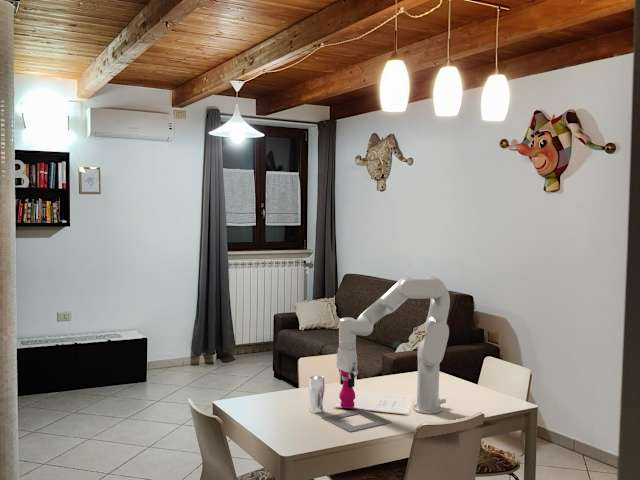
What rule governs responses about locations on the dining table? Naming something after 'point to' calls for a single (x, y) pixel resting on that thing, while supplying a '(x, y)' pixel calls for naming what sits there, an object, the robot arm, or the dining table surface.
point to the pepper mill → (346, 392)
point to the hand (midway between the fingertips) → (347, 385)
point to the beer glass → (316, 393)
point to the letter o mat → (336, 421)
